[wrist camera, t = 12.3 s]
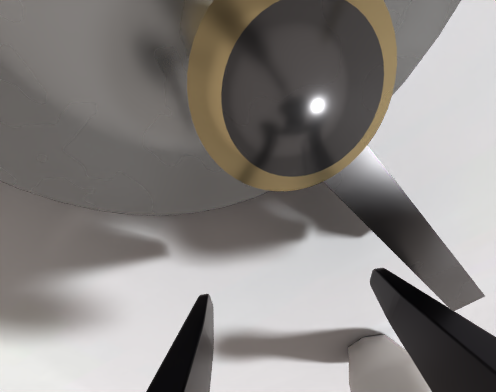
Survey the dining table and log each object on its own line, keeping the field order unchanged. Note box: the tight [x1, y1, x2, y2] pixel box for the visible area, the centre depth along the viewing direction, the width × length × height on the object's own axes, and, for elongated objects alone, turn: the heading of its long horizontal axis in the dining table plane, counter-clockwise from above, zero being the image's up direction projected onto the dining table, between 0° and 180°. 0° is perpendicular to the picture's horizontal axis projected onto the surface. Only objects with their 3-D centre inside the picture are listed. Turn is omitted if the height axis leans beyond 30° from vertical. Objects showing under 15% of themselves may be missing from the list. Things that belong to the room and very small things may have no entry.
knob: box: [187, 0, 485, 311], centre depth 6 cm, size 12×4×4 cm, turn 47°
